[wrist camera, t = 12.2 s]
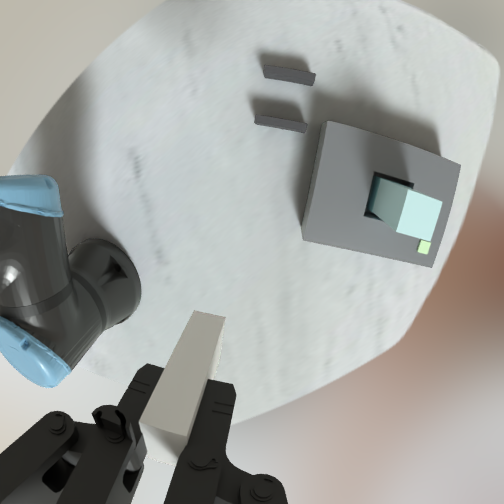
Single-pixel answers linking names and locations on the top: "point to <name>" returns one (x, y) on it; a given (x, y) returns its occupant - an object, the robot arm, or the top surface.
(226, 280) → the top surface
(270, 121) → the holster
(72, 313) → the robot arm
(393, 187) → the plug
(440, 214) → the port block
